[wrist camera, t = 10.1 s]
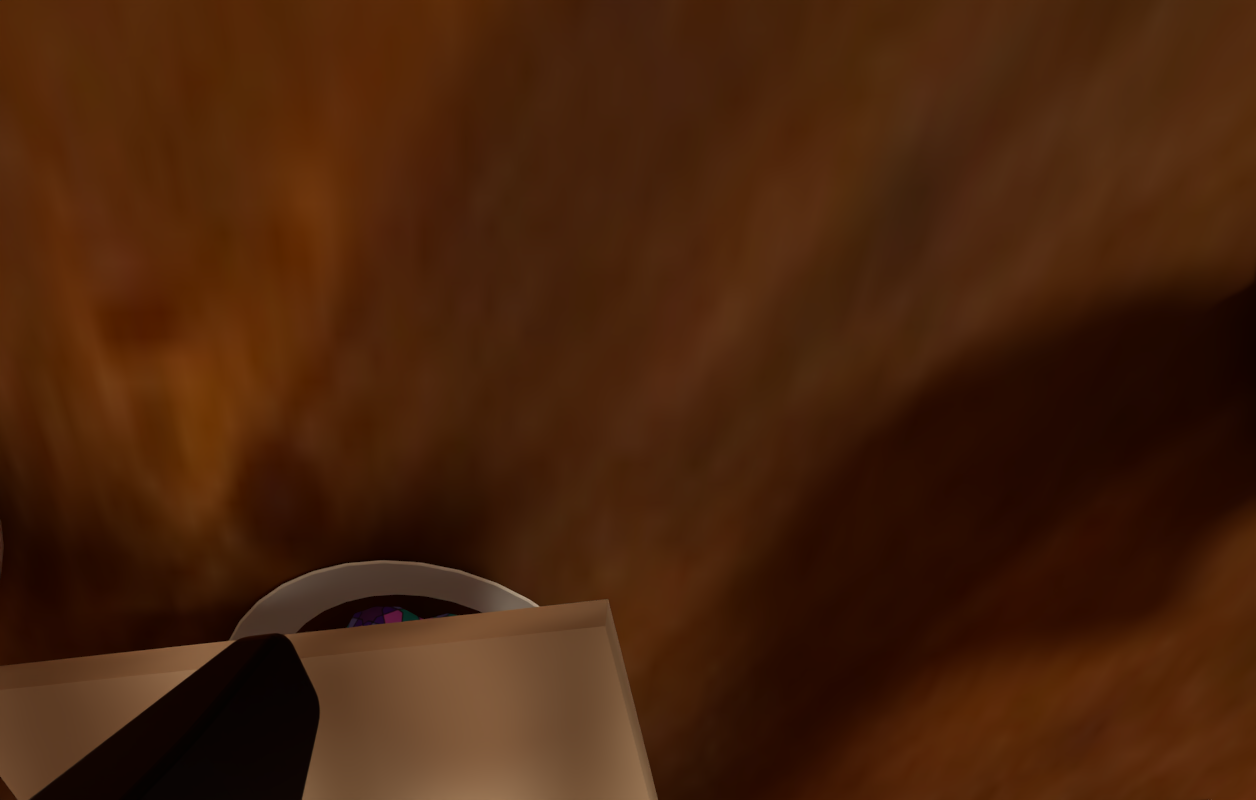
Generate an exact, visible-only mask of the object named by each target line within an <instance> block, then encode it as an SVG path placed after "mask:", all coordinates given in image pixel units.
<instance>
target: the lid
mask: <svg viewBox="0 0 1256 800" xmlns="http://www.w3.org/2000/svg"><path fill="white" fill-rule="evenodd" d="M285 636H286V637H287V638H288V639H290V640H291V642H292V644H293V645H294V647H295V650H296V652H297V654H298V656H299V658H300V660H301V662H302V664H303V666H304V668H305V670H306V672H307V674H308V676H309V678H310V680H311V682H312V684H313V686H314V688H315V690H316V693H317V695H318V699H319V704H320V719H319V725H318V730H317V734H316V739H315V744H314V748H313V753H312V757H311V762H310V766H309V771H308V775H307V780H306V784H305V789H304V793H303V798H302V800H658V798H657V794H656V790H655V786H654V782H653V778H652V774H651V770H650V766H649V762H648V758H647V754H646V750H645V746H644V742H643V738H642V734H641V730H640V725H639V721H638V717H637V713H636V709H635V705H634V701H633V697H632V693H631V689H630V685H629V681H628V677H627V673H626V669H625V665H624V661H623V657H622V653H621V649H620V645H619V641H618V637H617V633H616V629H615V625H614V621H613V617H612V613H611V609H610V605H609V601H608V599H605V600H596V601H587V602H578V603H569V604H559V605H550V606H541V607H532V608H523V609H514V610H505V611H496V612H487V613H478V614H468V615H459V616H450V617H441V618H432V619H423V620H414V621H405V622H396V623H387V624H377V625H368V626H359V627H350V628H341V629H332V630H323V631H314V632H305V633H296V634H286V635H285ZM235 641H236V640H232V641H223V642H214V643H205V644H196V645H186V646H177V647H168V648H159V649H150V650H141V651H132V652H123V653H114V654H105V655H95V656H86V657H77V658H68V659H59V660H50V661H41V662H32V663H23V664H14V665H4V666H0V777H1V778H2V779H3V781H4V782H5V783H6V785H7V786H8V787H9V789H10V790H11V792H12V793H13V794H14V796H15V797H16V798H17V800H28V799H30V798H31V797H32V796H34V795H35V794H36V793H38V792H39V791H40V790H42V789H43V788H44V787H45V786H47V785H48V784H49V783H51V782H52V781H53V780H55V779H56V778H57V777H58V776H60V775H61V774H62V773H64V772H65V771H66V770H68V769H69V768H70V767H71V766H73V765H74V764H75V763H77V762H78V761H79V760H81V759H82V758H83V757H85V756H86V755H87V754H88V753H90V752H91V751H92V750H94V749H95V748H96V747H98V746H99V745H100V744H101V743H103V742H104V741H105V740H107V739H108V738H109V737H111V736H112V735H113V734H114V733H116V732H117V731H118V730H120V729H121V728H122V727H124V726H125V725H126V724H127V723H129V722H130V721H131V720H133V719H134V718H135V717H137V716H138V715H139V714H141V713H142V712H143V711H144V710H146V709H147V708H148V707H150V706H151V705H152V704H154V703H155V702H156V701H157V700H159V699H160V698H161V697H163V696H164V695H165V694H167V693H168V692H169V691H170V690H172V689H173V688H174V687H176V686H177V685H178V684H180V683H181V682H182V681H184V680H185V679H186V678H187V677H189V676H190V675H191V674H193V673H194V672H195V671H197V670H198V669H199V668H200V667H202V666H203V665H204V664H206V663H207V662H208V661H210V660H211V659H212V658H213V657H215V656H216V655H217V654H219V653H220V652H221V651H223V650H224V649H225V648H226V647H228V646H229V645H230V644H232V643H233V642H235Z"/></svg>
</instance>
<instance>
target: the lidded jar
mask: <svg viewBox="0 0 1256 800" xmlns="http://www.w3.org/2000/svg"><path fill="white" fill-rule="evenodd" d="M3 549H4V543H3V534H2V525H1V520H0V578H1V568H2V559H3Z"/></svg>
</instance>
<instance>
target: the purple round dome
mask: <svg viewBox="0 0 1256 800" xmlns="http://www.w3.org/2000/svg"><path fill="white" fill-rule="evenodd" d="M395 594H399V595H414V596H426V597H431V598H436V599H441V600H446V601H451V602H454V603H457V604H460V605H463V606H466V607H469V608H472V609H475V610H478V611H480V612H482V613H487V612H496V611H505V610H514V609H523V608H532V607H539V606H538V605H537V604H535V603H534V602H532V601H531V600H529V599H527V598H525V597H523V596H521V595H519V594H517V593H516V592H514V591H512V590H510V589H508V588H506V587H504V586H502V585H500V584H498V583H496V582H493V581H490V580H487V579H484V578H481V577H478V576H475V575H472V574H469V573H466V572H463V571H461V570H456V569H451V568H446V567H441V566H436V565H431V564H426V563H421V562H405V561H388V560H379V561H367V562H355V563H345V564H341V565H336V566H332V567H328V568H324V569H320V570H316V571H312V572H309V573H307V574H305V575H303V576H300V577H298V578H296V579H293V580H291V581H289V582H286V583H284V584H282V585H281V586H279V587H278V588H276V589H275V590H273V591H272V592H270V593H269V594H268V595H266V596H265V597H263V598H262V599H260V600H259V601H258V602H257V603H256V604H255V605H254V606H253V607H252V608H251V609H250V610H249V611H248V612H247V614H246V615H245V616H244V617H243V618H242V619H241V620H240V621H239V623H238V625H237V626H236V628H235V630H234V632H233V634H232V636H231V637H230V639H229V641H232V640H238V639H240V638H243V637H247V636H255V635H264V634H272V633H279V634H283V635H286V634H296V632H297V631H298V630H299V629H300V628H301V627H302V626H303V625H304V624H305V623H307V622H308V621H310V620H311V619H313V618H314V617H316V616H317V615H319V614H320V613H322V612H323V611H325V610H328V609H330V608H332V607H335V606H337V605H340V604H342V603H345V602H348V601H352V600H357V599H361V598H365V597H370V596H382V595H395ZM450 616H458V615H454V614H450V613H447V614H444V615H440V616H436V617H432V618H441V617H450ZM432 618H428V619H432ZM414 620H423V619H422V618H420V617H418V616H416V615H414V614H412V613H410V612H409V611H407V610H405V609H403V608H401V607H376V606H375V607H372V608H369V609H367V610H364V611H361V612H358V613H355V614H354V615H353V617H352V619H351V621H350V623H349V624H348V626H347V628H350V627H359V626H368V625H377V624H387V623H396V622H405V621H414Z"/></svg>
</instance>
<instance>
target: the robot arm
mask: <svg viewBox="0 0 1256 800" xmlns="http://www.w3.org/2000/svg"><path fill="white" fill-rule="evenodd" d="M319 719H320V704H319V699H318V695H317V693H316V690H315V688H314V686H313V684H312V682H311V680H310V678H309V676H308V674H307V672H306V670H305V668H304V666H303V664H302V662H301V660H300V658H299V656H298V654H297V652H296V650H295V647H294V645H293V644H292V642H291V640H290V639H288V638H287V637H286V636H285V635H283V634H279V633H272V634H264V635H255V636H247V637H243V638H240V639H238V640H236V641H235V642H233V643H232V644H230V645H229V646H228V647H226V648H225V649H224V650H223V651H221V652H220V653H219V654H217V655H216V656H215V657H213V658H212V659H211V660H210V661H208V662H207V663H206V664H204V665H203V666H202V667H200V668H199V669H198V670H197V671H195V672H194V673H193V674H191V675H190V676H189V677H187V678H186V679H185V680H184V681H182V682H181V683H180V684H178V685H177V686H176V687H174V688H173V689H172V690H170V691H169V692H168V693H167V694H165V695H164V696H163V697H161V698H160V699H159V700H157V701H156V702H155V703H154V704H152V705H151V706H150V707H148V708H147V709H146V710H144V711H143V712H142V713H141V714H139V715H138V716H137V717H135V718H134V719H133V720H131V721H130V722H129V723H127V724H126V725H125V726H124V727H122V728H121V729H120V730H118V731H117V732H116V733H114V734H113V735H112V736H111V737H109V738H108V739H107V740H105V741H104V742H103V743H101V744H100V745H99V746H98V747H96V748H95V749H94V750H92V751H91V752H90V753H88V754H87V755H86V756H85V757H83V758H82V759H81V760H79V761H78V762H77V763H75V764H74V765H73V766H71V767H70V768H69V769H68V770H66V771H65V772H64V773H62V774H61V775H60V776H58V777H57V778H56V779H55V780H53V781H52V782H51V783H49V784H48V785H47V786H45V787H44V788H43V789H42V790H40V791H39V792H38V793H36V794H35V795H34V796H32V797H31V798H30V799H28V800H302V798H303V793H304V789H305V784H306V780H307V775H308V771H309V766H310V762H311V757H312V753H313V748H314V744H315V739H316V734H317V730H318V725H319Z"/></svg>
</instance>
